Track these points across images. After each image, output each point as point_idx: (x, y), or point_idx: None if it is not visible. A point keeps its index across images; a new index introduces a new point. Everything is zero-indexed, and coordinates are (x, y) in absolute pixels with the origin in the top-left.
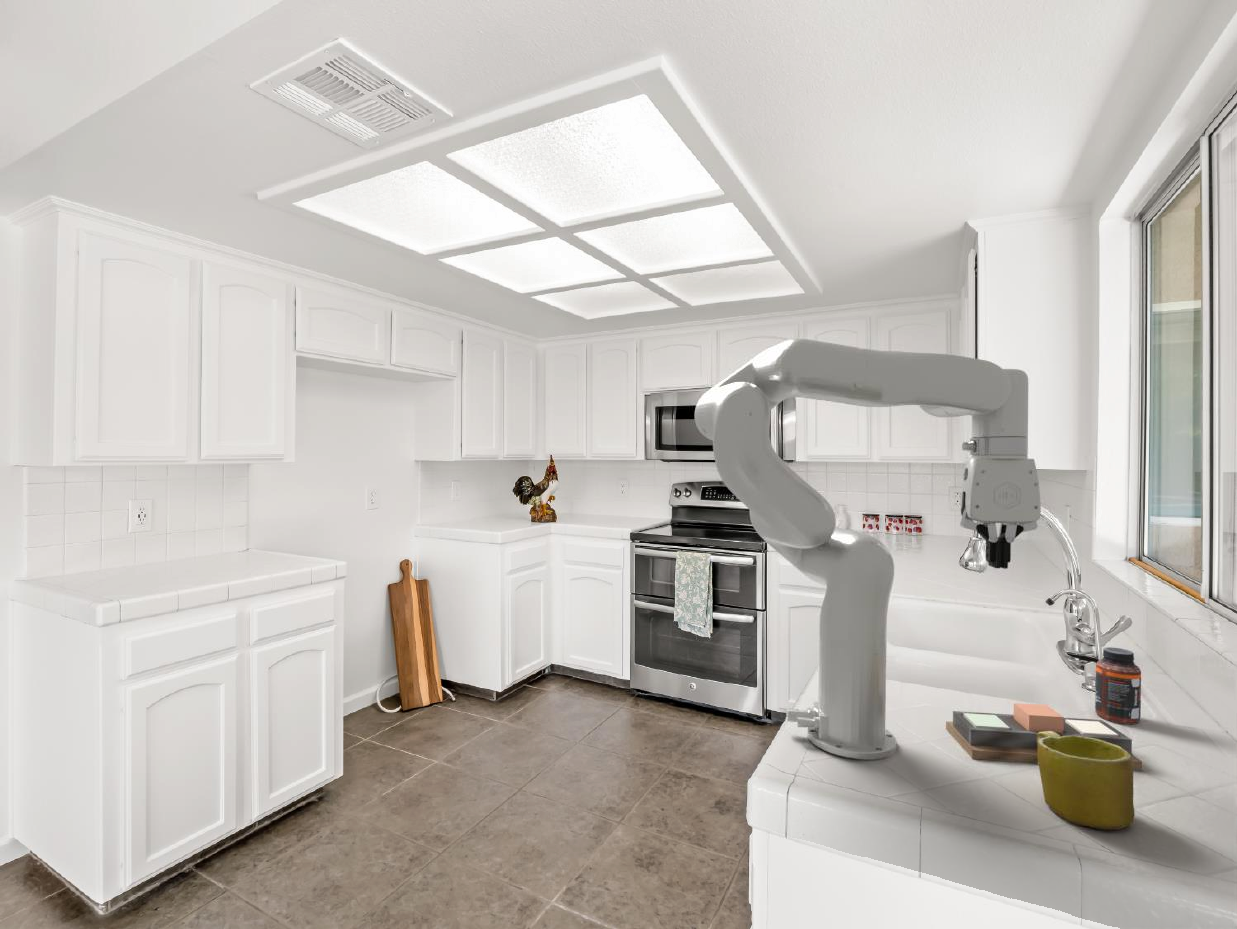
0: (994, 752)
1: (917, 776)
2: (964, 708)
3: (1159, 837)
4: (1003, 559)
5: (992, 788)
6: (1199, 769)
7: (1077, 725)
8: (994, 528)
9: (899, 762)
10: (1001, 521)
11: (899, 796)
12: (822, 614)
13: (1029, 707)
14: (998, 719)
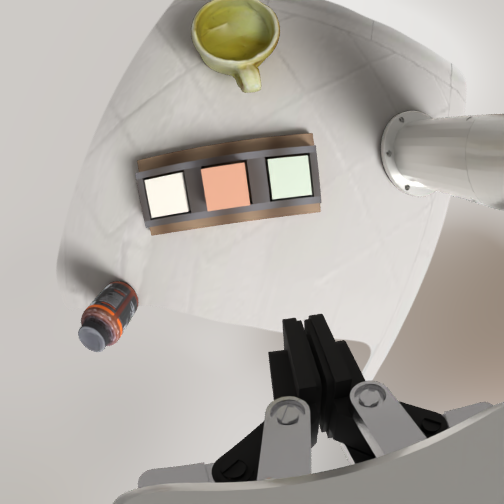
0: (288, 135)
1: (369, 87)
2: (277, 282)
3: (190, 32)
4: (303, 337)
5: (306, 73)
6: (91, 185)
7: (179, 195)
8: (386, 436)
9: (381, 113)
10: (402, 454)
11: (385, 54)
12: None
13: (234, 193)
14: (273, 184)
